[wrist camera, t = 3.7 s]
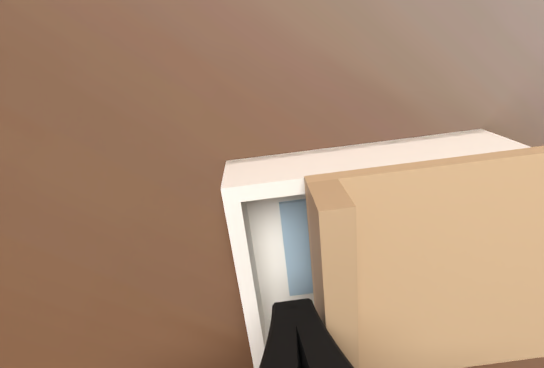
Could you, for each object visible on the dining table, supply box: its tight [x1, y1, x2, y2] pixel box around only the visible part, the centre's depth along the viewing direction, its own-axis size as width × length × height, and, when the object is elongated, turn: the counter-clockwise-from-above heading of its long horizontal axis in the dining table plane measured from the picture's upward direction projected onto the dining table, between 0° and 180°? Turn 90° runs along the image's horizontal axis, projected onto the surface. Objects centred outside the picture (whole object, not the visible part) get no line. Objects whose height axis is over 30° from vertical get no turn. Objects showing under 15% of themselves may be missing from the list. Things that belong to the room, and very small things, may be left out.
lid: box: [304, 146, 544, 368], centre depth 12 cm, size 11×9×3 cm
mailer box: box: [221, 129, 531, 368], centre depth 15 cm, size 11×9×3 cm
